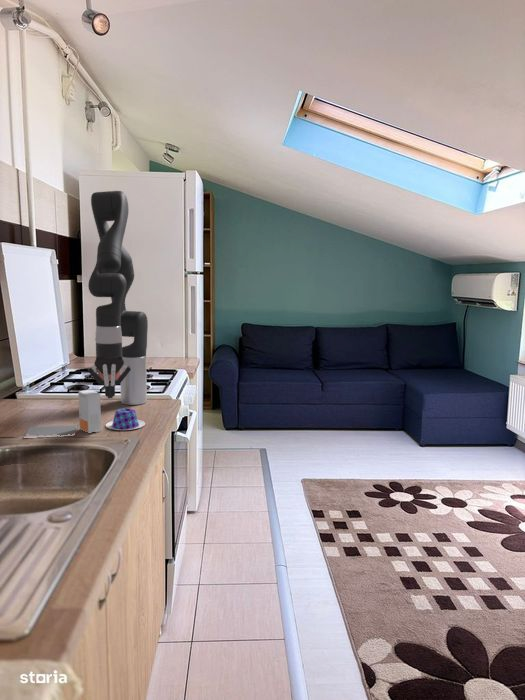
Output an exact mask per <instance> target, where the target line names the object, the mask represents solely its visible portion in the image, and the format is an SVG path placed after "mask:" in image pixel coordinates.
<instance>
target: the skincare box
mask: <svg viewBox="0 0 525 700" xmlns="http://www.w3.org/2000/svg"><path fill="white" fill-rule="evenodd" d="M101 412H102V411H101V393H100V392H99V391H96V390H92V389H86V390H80V391H78V415H79V416H78V421H79V422H78V423H79V425H78V426H79V430H80V429H81V431H82V430H83V432H84V431H85V432H84V433H86V432H88V433H91V432H96V433H99V432H98V431H101V432H102V415H101V414H102V413H101ZM88 433H87V434H88Z"/></svg>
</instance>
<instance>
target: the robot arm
mask: <svg viewBox="0 0 525 700" xmlns="http://www.w3.org/2000/svg"><path fill="white" fill-rule="evenodd" d="M90 203H91V204H90V206H91V211H92V215H93V219H94V222H95V227H96V230H97V233H98V238H99V243H98V245H97V250H96V251H97V253H96V263H95V266H94V268H93V271H92V272H91V275H90V276H89V280H88V283H87V284H88V286H87V287H88V291H89V293H90V294H91V295H92V296H93V297H96V298H110V299H111V303H108V304H104V305H103V304H102V305H99V306H97V307H96V309H95V338H94V340H95V360H94V364H93V365H91V366H89V367H88V369H87V373H89V374H90V375H91V377H92V378H93V379H94V380H95V381H96V382H97V383H98V385H102V386H104V395H105V397H107V399H113V398H114V397H115V396H116V385H120V403H121V404H122V405H130V406H135V405H142V404H145V403H147V402H148V401H147V400H148V399H147V395H148V394H147V392H148V391H147V390H148V389H147V387H148V386H147V384H148V383H147V348H148V328H149V327H148V326H149V325H148V322H149V321H148V317H147V314H146V312H144V311H135V310H127V309H126V298H127V295H128V292H129V291H130V289H131V287H132V284H133V282H134V279H135V271H134V265H133V264H134V263H133V258H132V257H131V254H130V253H129V252H128V250H127V249H126V248H125V247H124V246H123V241H124V237H125V231H126V227H127V222H128V217H129V201H128V198H127V195H126V193H125V192H124V191H121V190H109V191H108V190H107V191H96V192H93V193H92V194H91V196H90ZM108 222H113V223H112V224H111V226H109V224H108ZM123 337H127V338H128V337H129V338H133V342H132V343H130V344H129V345H125V346H123ZM97 368H98V370H99V371H100V372H101V373H102V374H104V380H102V379H101V377H100V376H99V375H98V372H97ZM119 370H120V376H119V378H118V379H116V380H115V374H117V373H118V372H119ZM108 374H111V383H109V376H108Z"/></svg>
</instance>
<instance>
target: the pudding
mask: <svg viewBox="0 0 525 700" xmlns="http://www.w3.org/2000/svg"><path fill="white" fill-rule="evenodd" d="M145 425H146V422H145V421H143V420H141V419H138V417H137V413H136V411H135V409H134V408H120V409H117V410H116V411H115V412H114V417H113V420H111V421H108V422H107V423H106V424H105V427H106V428H107V429H110V430H115V431H125V430H126V431H130V430H136V429H140V428H143V427H144V426H145ZM132 428H134V429H132Z"/></svg>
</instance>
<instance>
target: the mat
mask: <svg viewBox="0 0 525 700" xmlns="http://www.w3.org/2000/svg"><path fill="white" fill-rule="evenodd" d="M77 427H79V425H76V424H75V425H57V426H56V425H52V426H51V425H50V426H32V427H31V426H30V427H28V429H27V430H26V432H25V434H24V435H26V434H29V435H36V436H39V435H44V436H46V435H53V434H57V435H60V436H61V435H68V434H70V435H72V434H74V433H76V434H77V431H78V428H77ZM76 430H77V431H76Z"/></svg>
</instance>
